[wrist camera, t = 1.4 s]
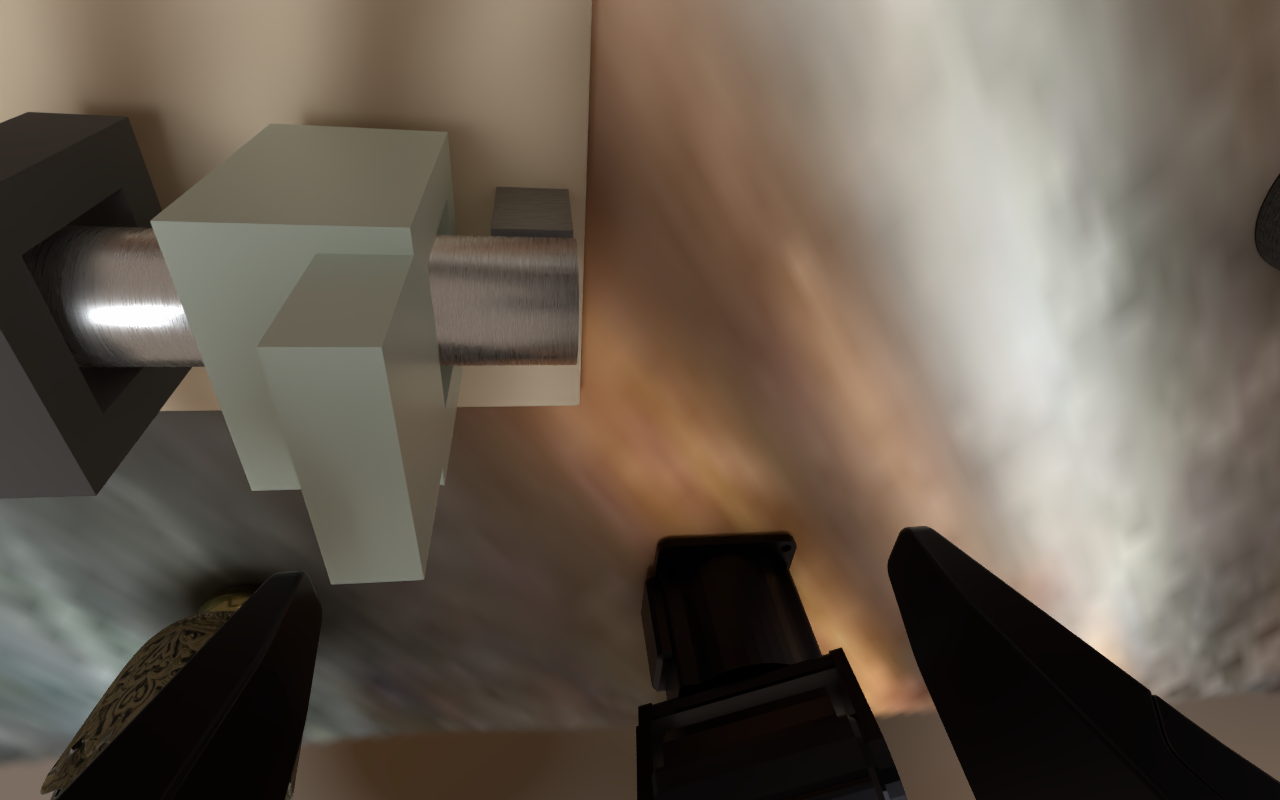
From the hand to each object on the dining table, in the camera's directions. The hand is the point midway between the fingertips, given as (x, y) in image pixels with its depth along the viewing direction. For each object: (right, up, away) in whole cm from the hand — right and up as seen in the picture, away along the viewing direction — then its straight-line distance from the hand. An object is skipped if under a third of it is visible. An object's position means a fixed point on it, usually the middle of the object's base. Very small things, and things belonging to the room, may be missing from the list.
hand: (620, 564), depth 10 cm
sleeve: (-7, +7, +7) cm, 12 cm away
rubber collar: (-13, +7, +6) cm, 16 cm away
